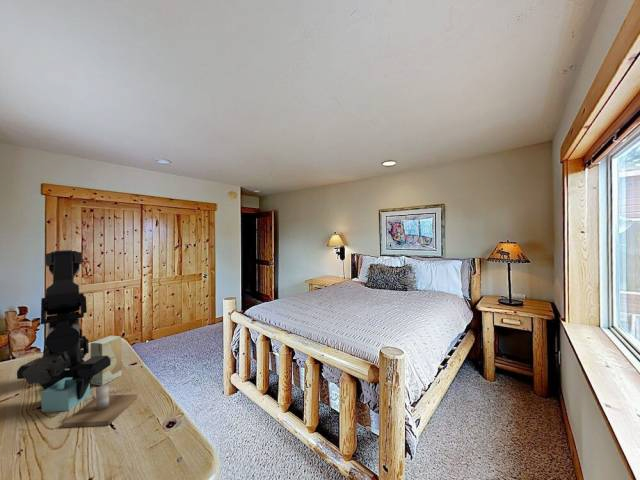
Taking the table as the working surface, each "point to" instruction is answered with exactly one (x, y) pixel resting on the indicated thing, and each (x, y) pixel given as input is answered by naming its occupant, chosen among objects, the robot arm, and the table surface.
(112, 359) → the skincare box
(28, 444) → the table surface
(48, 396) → the collar
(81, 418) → the post plate
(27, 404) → the table surface
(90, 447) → the table surface
